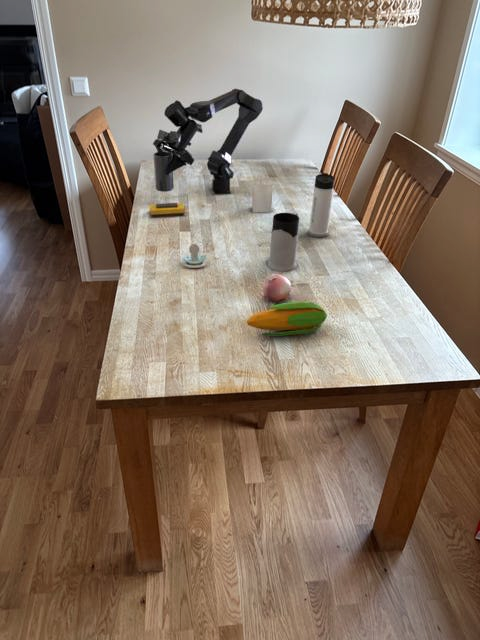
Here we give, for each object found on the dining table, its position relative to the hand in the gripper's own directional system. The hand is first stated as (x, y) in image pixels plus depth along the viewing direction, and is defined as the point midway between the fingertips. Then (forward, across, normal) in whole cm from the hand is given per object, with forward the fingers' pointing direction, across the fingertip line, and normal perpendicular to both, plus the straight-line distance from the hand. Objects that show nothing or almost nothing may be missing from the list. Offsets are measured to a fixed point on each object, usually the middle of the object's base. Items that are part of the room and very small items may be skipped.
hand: (160, 171), depth 177 cm
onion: (+18, +73, +1) cm, 75 cm away
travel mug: (-11, +52, +30) cm, 61 cm away
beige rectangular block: (-10, +25, +29) cm, 39 cm away
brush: (+11, +6, +8) cm, 15 cm away
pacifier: (+22, +44, -3) cm, 49 cm away
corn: (+24, +85, -5) cm, 89 cm away
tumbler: (+4, 0, +6) cm, 7 cm away
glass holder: (+5, +59, +14) cm, 60 cm away
